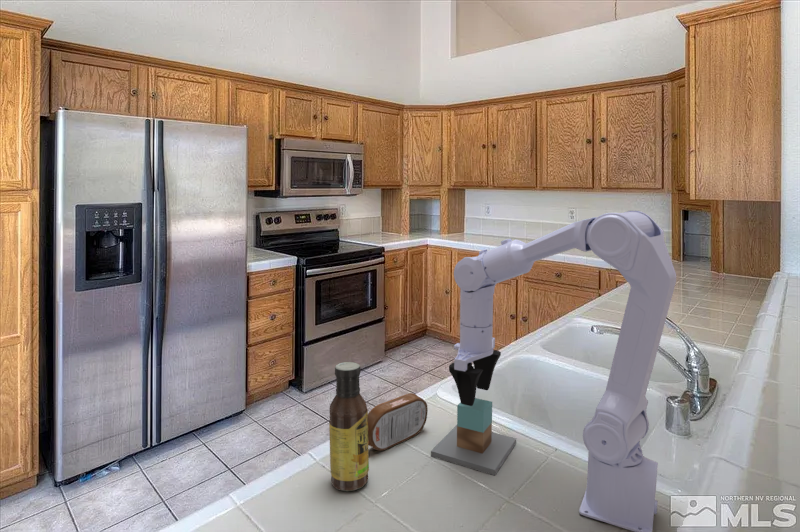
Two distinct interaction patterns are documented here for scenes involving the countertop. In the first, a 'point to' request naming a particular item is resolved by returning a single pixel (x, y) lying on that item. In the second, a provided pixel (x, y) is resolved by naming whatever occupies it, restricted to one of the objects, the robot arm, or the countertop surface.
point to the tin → (396, 421)
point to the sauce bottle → (348, 431)
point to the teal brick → (475, 415)
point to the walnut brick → (474, 439)
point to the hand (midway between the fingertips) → (475, 396)
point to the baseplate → (472, 459)
